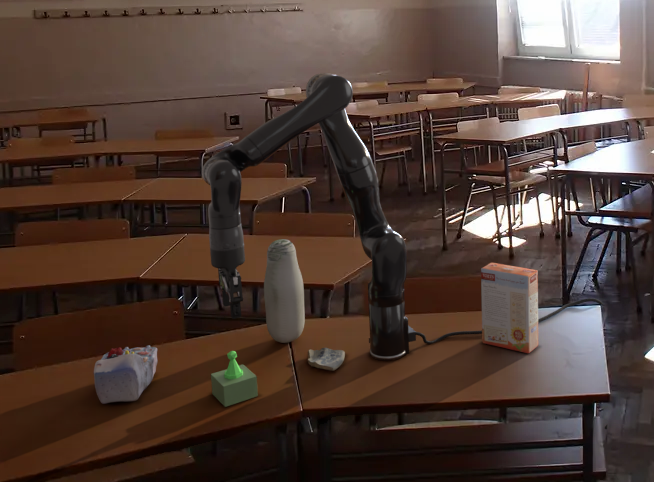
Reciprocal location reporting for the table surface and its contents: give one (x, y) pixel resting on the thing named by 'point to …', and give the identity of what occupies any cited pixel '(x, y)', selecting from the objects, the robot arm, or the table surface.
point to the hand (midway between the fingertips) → (232, 311)
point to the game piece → (233, 367)
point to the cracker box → (509, 307)
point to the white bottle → (283, 292)
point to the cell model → (124, 373)
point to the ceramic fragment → (326, 358)
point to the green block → (234, 387)
